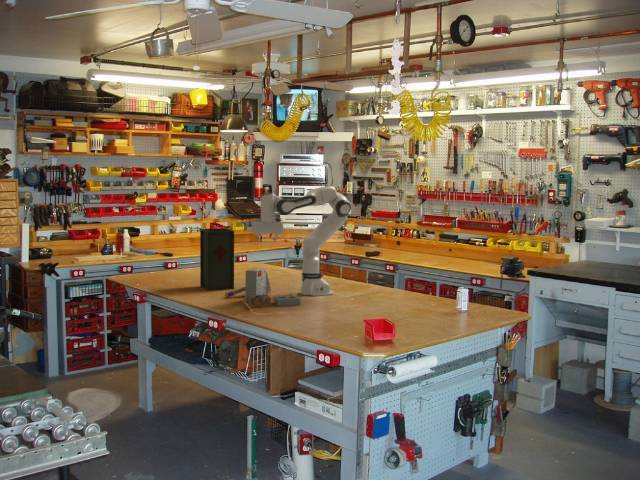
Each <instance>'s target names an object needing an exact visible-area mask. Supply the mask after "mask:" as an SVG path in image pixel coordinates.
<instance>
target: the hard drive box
mask: <svg viewBox="0 0 640 480" xmlns="http://www.w3.org/2000/svg"><path fill="white" fill-rule="evenodd" d="M266 272H267V268H265V267H254V268H250V269H247V270H245V286H244V287H245V291H244V302H245V303H247V302H248V295H257V292H258V283H263V295H267V294H266Z"/></svg>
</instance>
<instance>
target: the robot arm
mask: <svg viewBox="0 0 640 480" xmlns="http://www.w3.org/2000/svg"><path fill="white" fill-rule="evenodd" d="M326 204H328V205H330V207H331V209H332V212H331V213H330V214H328V216H327V217H326V218H325V219H323V220H322V221H321V222H320V223H319V224H318V225H317V226H316V227H315V229H313V230H312V232H311V233H310V234H309V233H308V234H307V235H306V236H305V237H304V238H303V241H302V271H301V285H300V286H301V287H300V291H299V294H300V295H304V296H305V295H306V296H312V297H313V296H314V297H315V296H316V297H318V296H319V297H320V296H328V295H329V296H330V295H334V293H335V292H334V291H333V290H331V285H330V283H328V281H327V280H325V279H324V276H325V274H324V273H321V272H320V248H321V247H322V246H324V244H325V243H326V242H327V241H328V240H329V239H330V238H331V237H333V235H335V234H336V233H337V231H339V229H341V228H342V227H343V225H344V224H345V223H346V222H347V220H348V215H349V214H350V212H351V210H352V204H351V202H350V201H349V200H348V198H347V197H346V196H345V195H344V194H342V192H340V191H337V189H336V188H335V187H334V186H332V185H327V186H320V187H316V188H312V189H310V190H308V191H307V193H306V194H305V195H303V196H300V197H298V198H294V199H289V198H283V197H281V196H278V195H277V194H275V193H274V192H267V193H266V192H265V193H263V194H262V195H261V198H260V209H261V211H260V218H253V219H251V221H250V226H251V234H254V235H256V236H257V238H258V242H261V241H262V237H260V235H261V234H263V235H264V234H265V235H266V234H267V235H270V234H273V235H275V236H274V237H273V239H272V240H273V241H274V242H275V241H277V238H278V236H279V234H283V233H284V230H285V229H284V223H283V222H282V221H283V219H282V217H278V216H275V215H276V214H275V213H278V214H280V215H282V216H288V215H290V214H291V213H292V212H294V211H295V210H298V209H302V208H305V207H317V206H321V205H326Z"/></svg>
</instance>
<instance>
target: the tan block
mask: <svg viewBox="0 0 640 480" xmlns="http://www.w3.org/2000/svg"><path fill="white" fill-rule="evenodd" d="M289 295H290V296H291V297H292V298H296V296H298V293H297V292H292V291H291V292H290V293H289Z"/></svg>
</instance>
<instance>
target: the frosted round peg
mask: <svg viewBox="0 0 640 480" xmlns="http://www.w3.org/2000/svg"><path fill="white" fill-rule="evenodd" d="M262 297H263V283H258V292H257V298H262Z"/></svg>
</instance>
